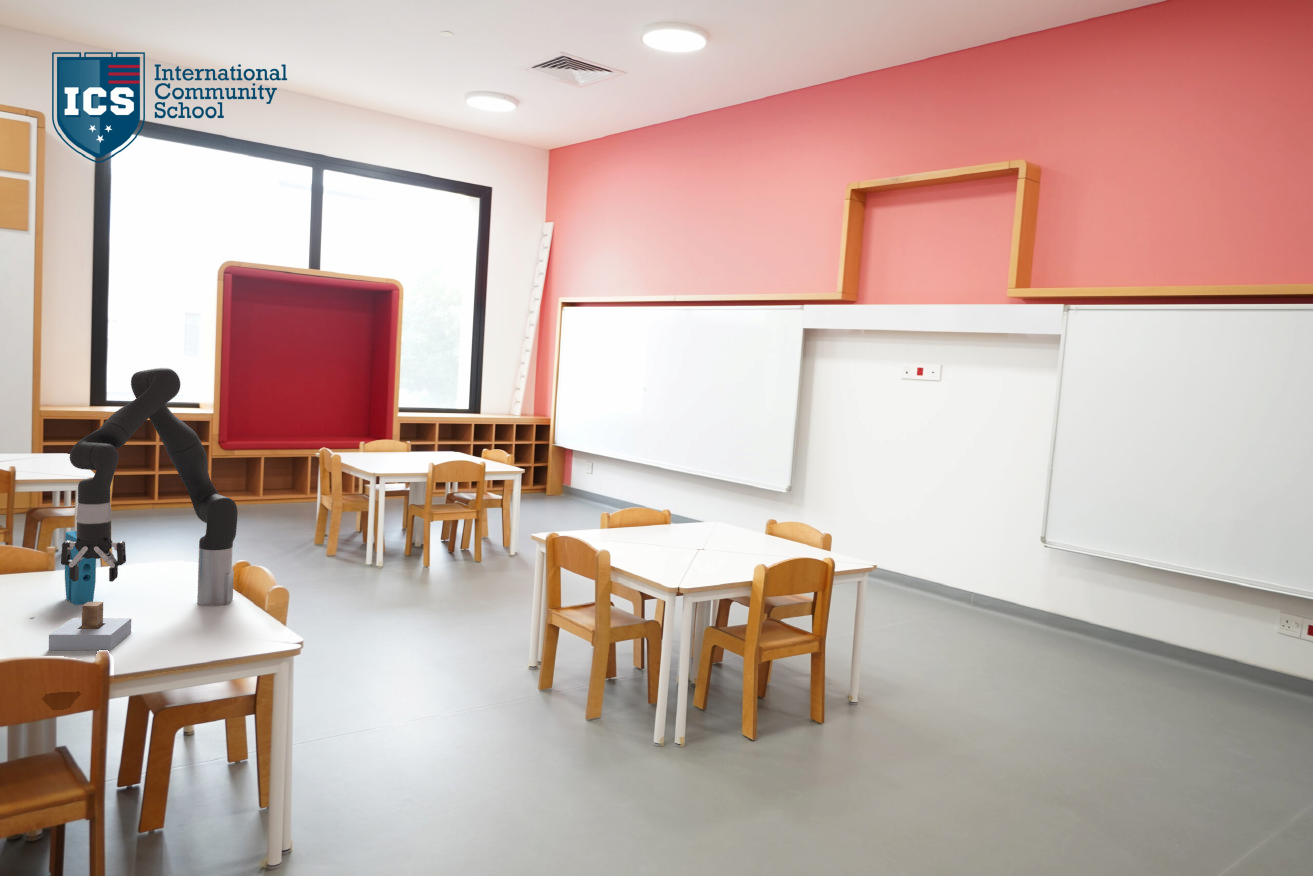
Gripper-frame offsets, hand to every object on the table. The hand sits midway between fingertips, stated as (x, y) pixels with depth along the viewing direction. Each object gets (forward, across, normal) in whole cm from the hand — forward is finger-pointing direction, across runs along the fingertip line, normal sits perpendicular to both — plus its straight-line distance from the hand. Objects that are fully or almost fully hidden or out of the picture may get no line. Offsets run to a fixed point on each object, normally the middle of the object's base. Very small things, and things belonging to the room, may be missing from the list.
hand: (93, 580), depth 225 cm
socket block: (+16, 0, 0) cm, 16 cm away
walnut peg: (+16, 0, 0) cm, 16 cm away
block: (+16, +17, -37) cm, 44 cm away
